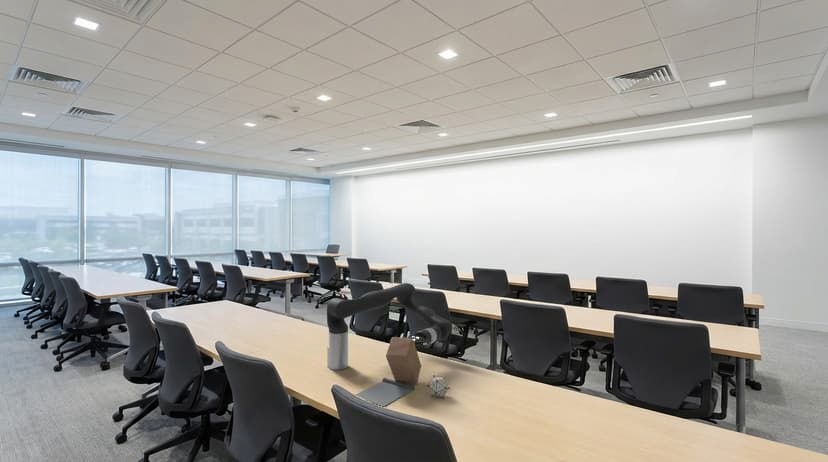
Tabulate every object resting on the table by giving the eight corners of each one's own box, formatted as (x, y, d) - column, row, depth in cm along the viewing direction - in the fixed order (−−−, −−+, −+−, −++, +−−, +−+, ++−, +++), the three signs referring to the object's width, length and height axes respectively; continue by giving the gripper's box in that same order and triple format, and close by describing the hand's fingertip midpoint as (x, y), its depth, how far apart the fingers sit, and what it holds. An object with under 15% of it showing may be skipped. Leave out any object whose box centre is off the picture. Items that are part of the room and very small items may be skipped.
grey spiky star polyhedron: (442, 404, 155) (457, 383, 156) (437, 405, 148) (452, 383, 149) (425, 389, 159) (439, 369, 160) (419, 389, 152) (434, 368, 153)
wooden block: (417, 385, 165) (408, 358, 153) (395, 383, 168) (384, 356, 156) (422, 365, 172) (413, 337, 160) (400, 363, 175) (391, 335, 163)
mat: (352, 396, 154) (352, 393, 154) (384, 381, 170) (384, 377, 170) (383, 407, 145) (383, 403, 145) (414, 389, 161) (414, 386, 161)
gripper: (414, 327, 187) (392, 335, 172) (437, 331, 179) (416, 339, 165) (414, 342, 187) (392, 351, 172) (437, 347, 179) (416, 357, 165)
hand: (403, 346), depth 169 cm, fingers closed
